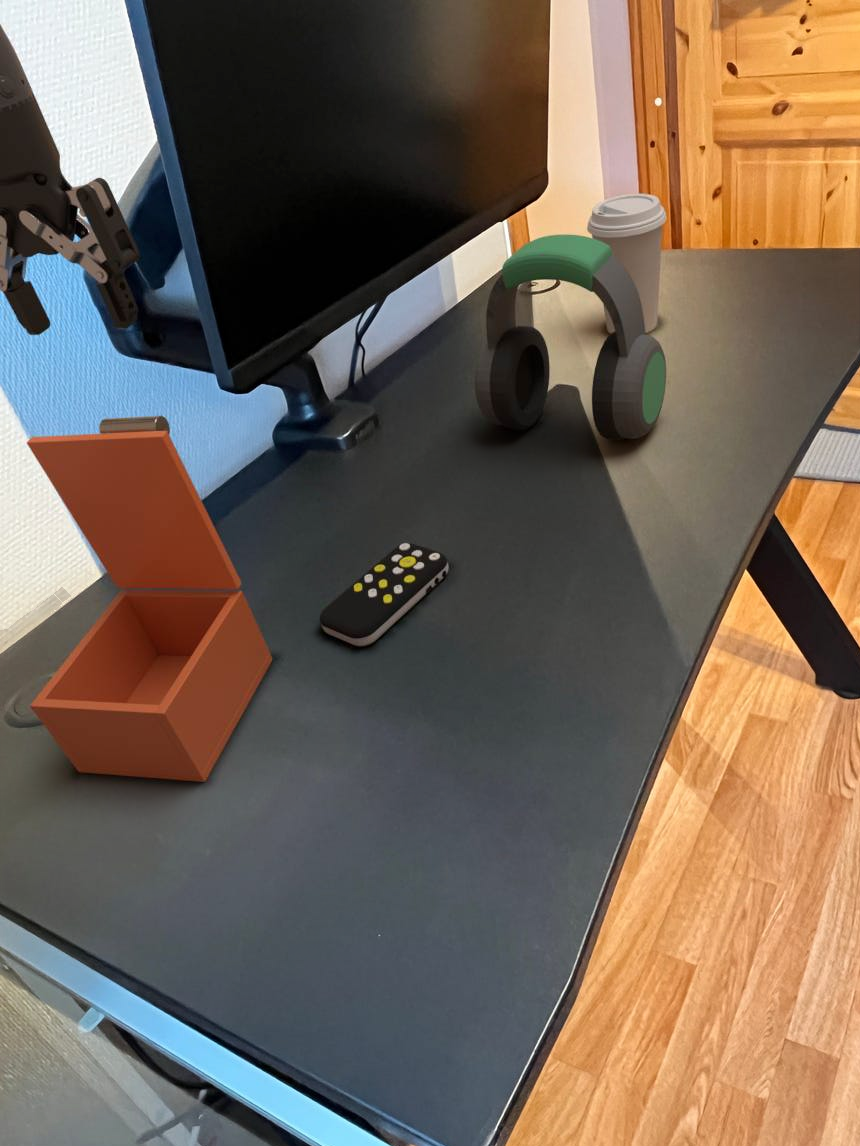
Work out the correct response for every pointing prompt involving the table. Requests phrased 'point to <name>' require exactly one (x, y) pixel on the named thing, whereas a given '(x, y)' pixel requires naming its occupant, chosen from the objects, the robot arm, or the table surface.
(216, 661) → the orange lidded box
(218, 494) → the table surface
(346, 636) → the remote control
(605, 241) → the coffee cup
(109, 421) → the box lid
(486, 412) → the headphones
